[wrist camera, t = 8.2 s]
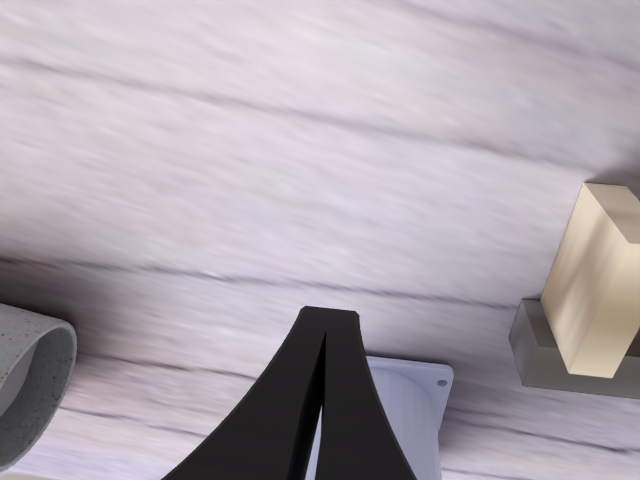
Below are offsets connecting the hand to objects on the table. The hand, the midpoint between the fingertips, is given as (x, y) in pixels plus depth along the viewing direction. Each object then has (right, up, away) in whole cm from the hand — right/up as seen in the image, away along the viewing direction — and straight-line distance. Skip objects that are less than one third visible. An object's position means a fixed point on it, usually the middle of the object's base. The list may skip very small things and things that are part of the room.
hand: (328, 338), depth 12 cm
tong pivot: (+12, +1, +9) cm, 15 cm away
